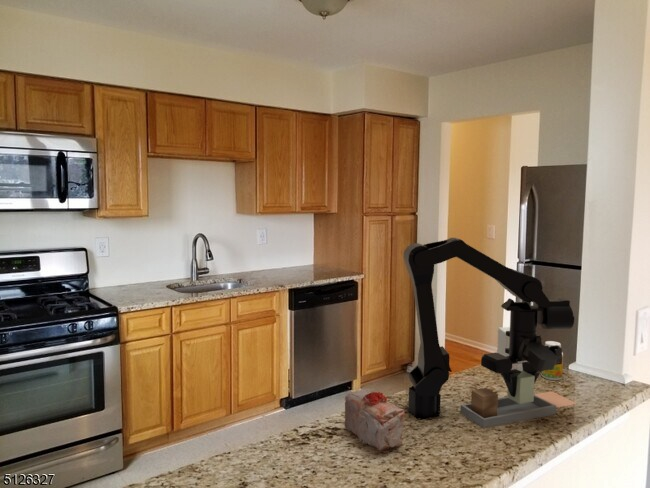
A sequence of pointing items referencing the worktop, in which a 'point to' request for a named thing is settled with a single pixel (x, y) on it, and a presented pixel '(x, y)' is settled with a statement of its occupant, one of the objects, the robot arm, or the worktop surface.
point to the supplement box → (505, 343)
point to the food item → (374, 419)
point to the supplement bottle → (557, 371)
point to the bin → (511, 412)
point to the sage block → (524, 388)
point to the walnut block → (484, 402)
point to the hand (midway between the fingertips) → (520, 395)
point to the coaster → (555, 399)
